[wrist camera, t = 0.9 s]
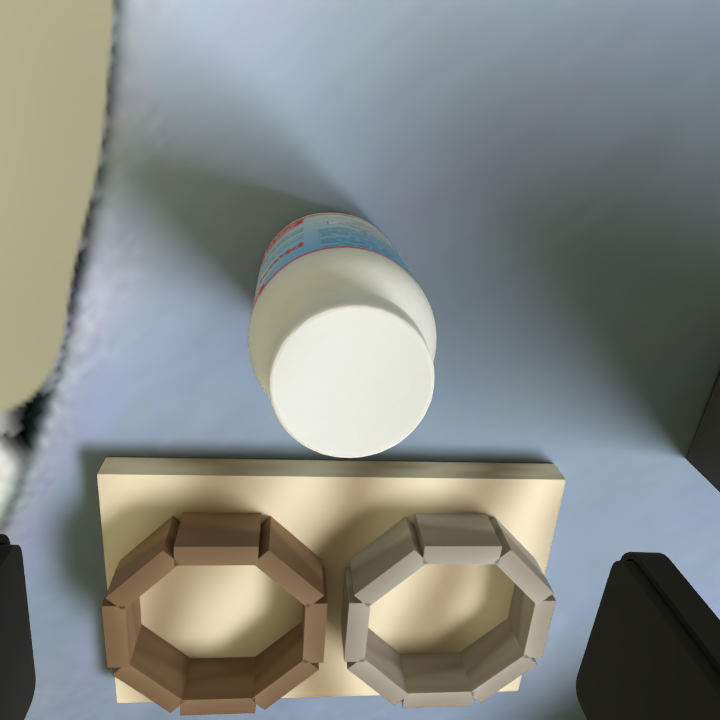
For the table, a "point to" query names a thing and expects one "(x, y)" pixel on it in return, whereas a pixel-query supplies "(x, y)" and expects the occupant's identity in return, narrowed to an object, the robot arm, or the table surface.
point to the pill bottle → (341, 337)
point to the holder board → (323, 579)
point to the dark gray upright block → (708, 441)
